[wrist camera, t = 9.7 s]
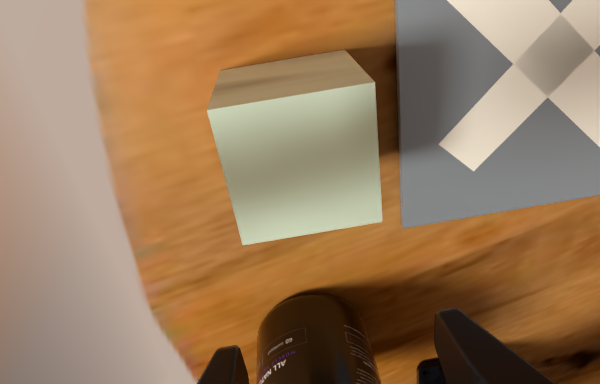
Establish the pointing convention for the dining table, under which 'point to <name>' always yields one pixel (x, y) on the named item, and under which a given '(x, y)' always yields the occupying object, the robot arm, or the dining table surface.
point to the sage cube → (298, 145)
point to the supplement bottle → (315, 344)
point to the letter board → (496, 105)
